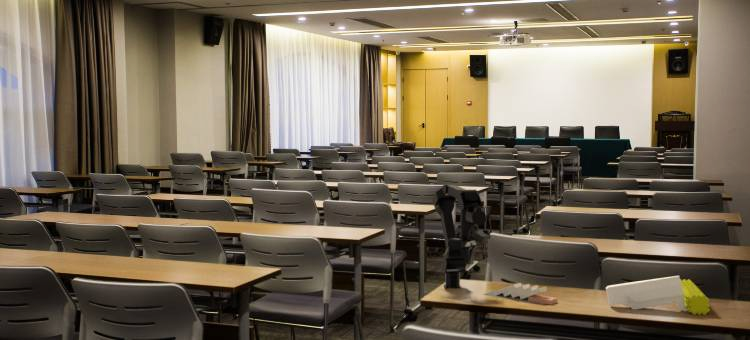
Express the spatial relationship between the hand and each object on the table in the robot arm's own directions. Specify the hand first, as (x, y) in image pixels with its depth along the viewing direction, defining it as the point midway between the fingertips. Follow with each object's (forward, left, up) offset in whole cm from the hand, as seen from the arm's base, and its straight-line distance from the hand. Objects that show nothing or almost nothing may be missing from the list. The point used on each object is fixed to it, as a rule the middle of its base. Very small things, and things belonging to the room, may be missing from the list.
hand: (467, 263), depth 290 cm
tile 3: (+6, +17, -11) cm, 21 cm away
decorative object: (+16, +79, -12) cm, 81 cm away
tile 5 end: (+11, +22, -11) cm, 27 cm away
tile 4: (+8, +20, -11) cm, 24 cm away
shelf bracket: (+22, +60, -12) cm, 65 cm away
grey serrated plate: (+6, +17, -12) cm, 22 cm away
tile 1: (+1, +12, -11) cm, 16 cm away
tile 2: (+3, +15, -11) cm, 18 cm away
